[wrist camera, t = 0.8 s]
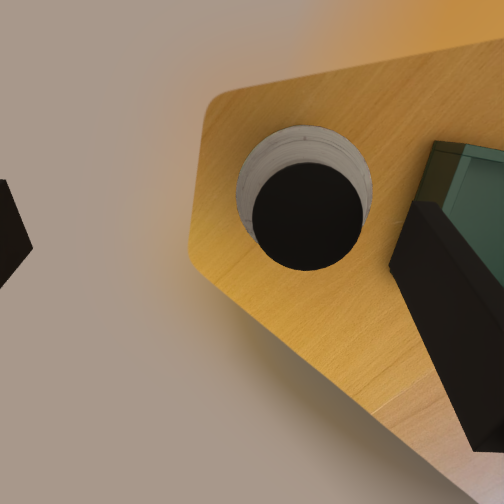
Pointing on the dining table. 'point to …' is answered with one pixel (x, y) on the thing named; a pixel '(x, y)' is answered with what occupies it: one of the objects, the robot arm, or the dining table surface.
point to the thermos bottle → (304, 196)
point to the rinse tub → (469, 196)
